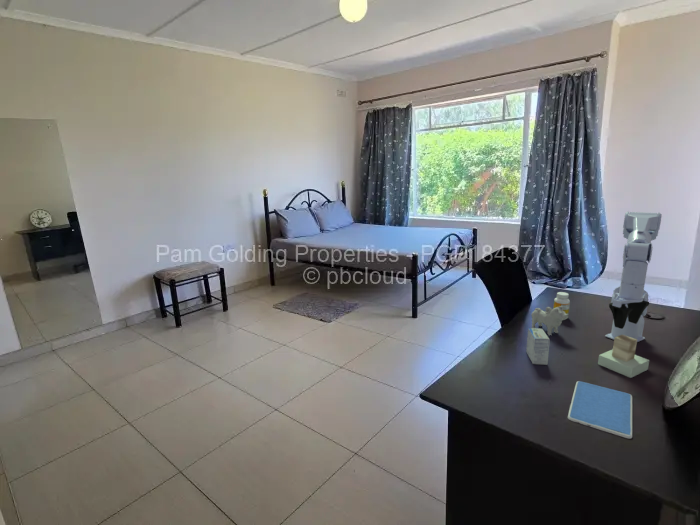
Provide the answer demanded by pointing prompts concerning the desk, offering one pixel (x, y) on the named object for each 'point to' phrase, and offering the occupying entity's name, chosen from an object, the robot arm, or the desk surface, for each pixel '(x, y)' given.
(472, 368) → the desk surface
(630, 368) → the sage base block
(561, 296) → the supplement bottle
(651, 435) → the desk surface
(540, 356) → the medicine box
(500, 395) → the desk surface
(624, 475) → the desk surface
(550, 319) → the white animal figurine
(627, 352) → the maple block
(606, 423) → the tablet computer
